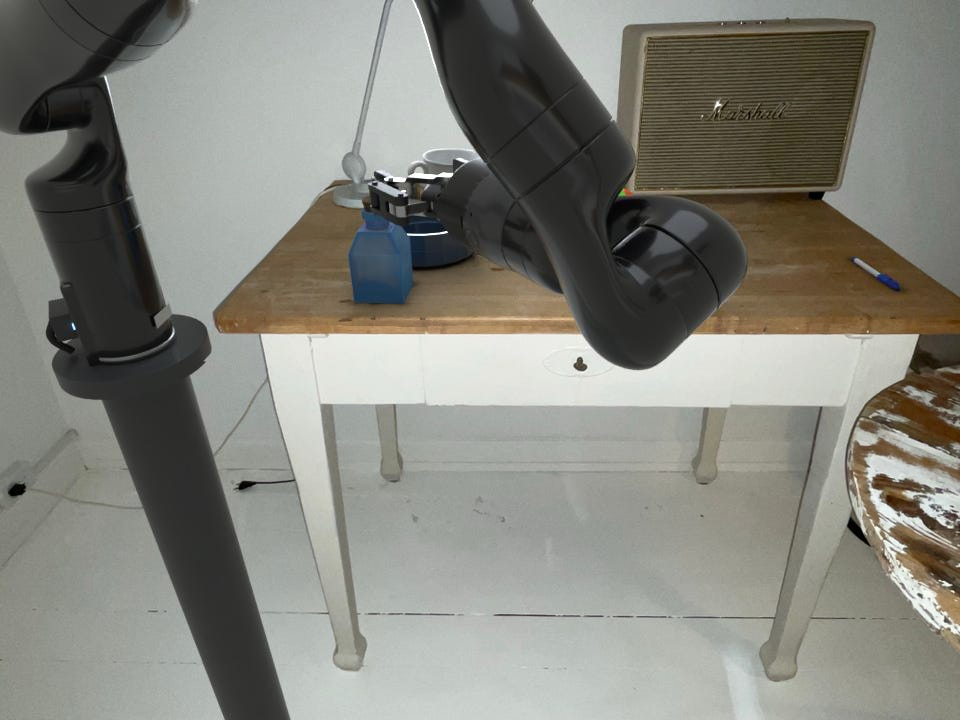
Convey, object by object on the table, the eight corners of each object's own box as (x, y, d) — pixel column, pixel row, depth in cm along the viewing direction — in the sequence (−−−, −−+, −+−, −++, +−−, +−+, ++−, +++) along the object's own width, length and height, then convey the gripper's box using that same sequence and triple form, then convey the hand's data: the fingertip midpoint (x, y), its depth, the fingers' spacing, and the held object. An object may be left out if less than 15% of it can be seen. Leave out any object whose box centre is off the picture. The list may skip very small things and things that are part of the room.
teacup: (473, 188, 121) (472, 145, 117) (491, 203, 112) (491, 157, 108) (402, 196, 118) (398, 152, 114) (415, 212, 109) (412, 165, 105)
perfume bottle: (413, 283, 82) (406, 191, 76) (403, 303, 77) (395, 206, 71) (366, 282, 83) (356, 191, 77) (354, 302, 77) (341, 206, 71)
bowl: (403, 278, 84) (400, 242, 81) (362, 247, 94) (359, 214, 92) (493, 257, 90) (493, 223, 87) (446, 230, 100) (445, 198, 98)
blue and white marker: (901, 291, 78) (904, 284, 77) (894, 291, 78) (897, 284, 77) (854, 260, 87) (856, 253, 87) (847, 260, 87) (850, 253, 87)
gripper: (580, 155, 51) (478, 126, 63) (424, 182, 45) (344, 144, 57) (575, 244, 55) (480, 200, 67) (430, 279, 49) (354, 224, 61)
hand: (417, 174), depth 62 cm, fingers open, 8 cm apart
